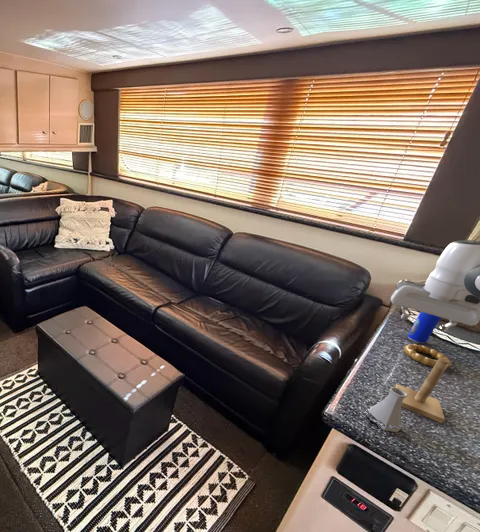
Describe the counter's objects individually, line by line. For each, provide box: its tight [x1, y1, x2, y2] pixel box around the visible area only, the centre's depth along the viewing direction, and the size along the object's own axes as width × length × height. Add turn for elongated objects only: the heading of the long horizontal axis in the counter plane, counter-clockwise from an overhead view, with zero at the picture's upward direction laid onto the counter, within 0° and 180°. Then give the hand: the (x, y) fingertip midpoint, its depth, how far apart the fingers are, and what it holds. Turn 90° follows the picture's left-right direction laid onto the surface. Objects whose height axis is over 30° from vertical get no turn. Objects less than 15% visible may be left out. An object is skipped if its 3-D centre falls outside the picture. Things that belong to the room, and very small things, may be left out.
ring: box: [403, 343, 452, 369], centre depth 108 cm, size 11×11×2 cm
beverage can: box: [407, 311, 442, 344], centre depth 117 cm, size 5×5×15 cm
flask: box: [363, 386, 408, 433], centre depth 81 cm, size 7×7×10 cm
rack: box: [394, 358, 451, 424], centre depth 86 cm, size 9×9×16 cm
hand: (422, 324), depth 107 cm, fingers open, 8 cm apart
